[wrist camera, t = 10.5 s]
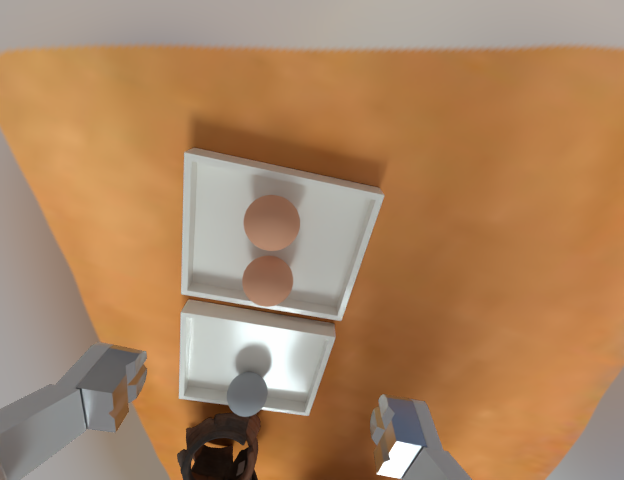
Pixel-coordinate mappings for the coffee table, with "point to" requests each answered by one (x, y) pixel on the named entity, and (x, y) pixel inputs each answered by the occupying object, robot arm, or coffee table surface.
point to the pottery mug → (221, 449)
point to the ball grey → (247, 394)
